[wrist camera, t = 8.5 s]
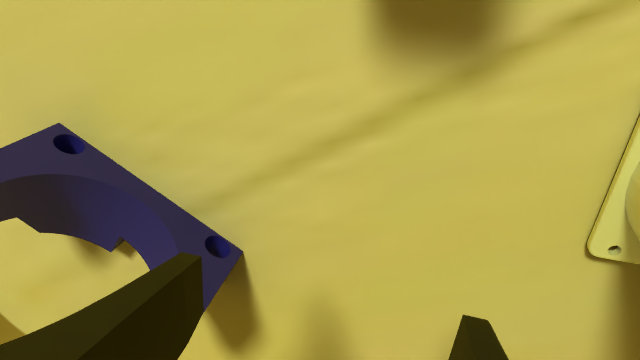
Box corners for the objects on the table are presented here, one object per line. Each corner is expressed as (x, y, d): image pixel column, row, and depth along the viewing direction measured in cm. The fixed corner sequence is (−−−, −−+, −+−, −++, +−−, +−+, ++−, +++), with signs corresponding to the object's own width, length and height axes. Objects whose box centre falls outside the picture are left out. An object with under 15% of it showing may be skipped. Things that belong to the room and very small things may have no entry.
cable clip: (40, 179, 26) (-59, 234, 21) (61, 121, 24) (-44, 167, 19) (209, 294, 27) (156, 375, 22) (244, 249, 25) (194, 327, 20)
